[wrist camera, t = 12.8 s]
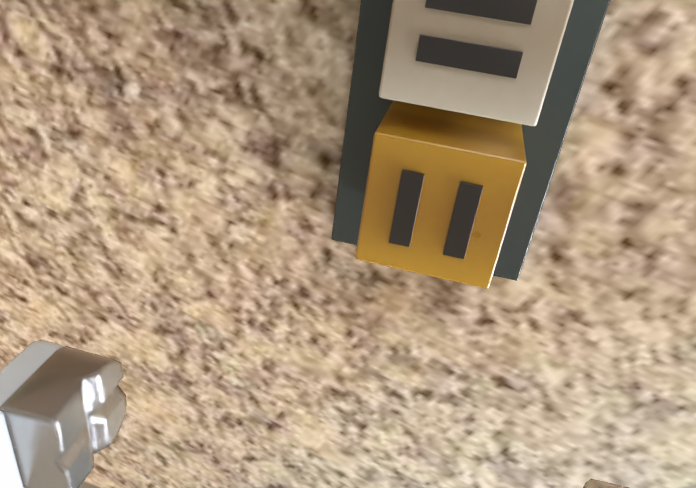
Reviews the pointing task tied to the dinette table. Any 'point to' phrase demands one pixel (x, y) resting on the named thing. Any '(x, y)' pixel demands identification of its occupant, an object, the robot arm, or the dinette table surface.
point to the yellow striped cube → (440, 192)
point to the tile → (474, 55)
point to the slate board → (538, 139)
